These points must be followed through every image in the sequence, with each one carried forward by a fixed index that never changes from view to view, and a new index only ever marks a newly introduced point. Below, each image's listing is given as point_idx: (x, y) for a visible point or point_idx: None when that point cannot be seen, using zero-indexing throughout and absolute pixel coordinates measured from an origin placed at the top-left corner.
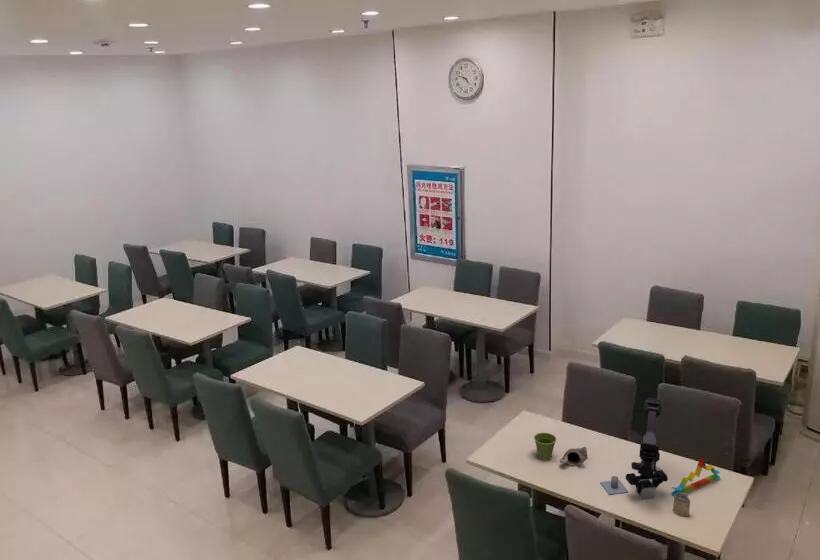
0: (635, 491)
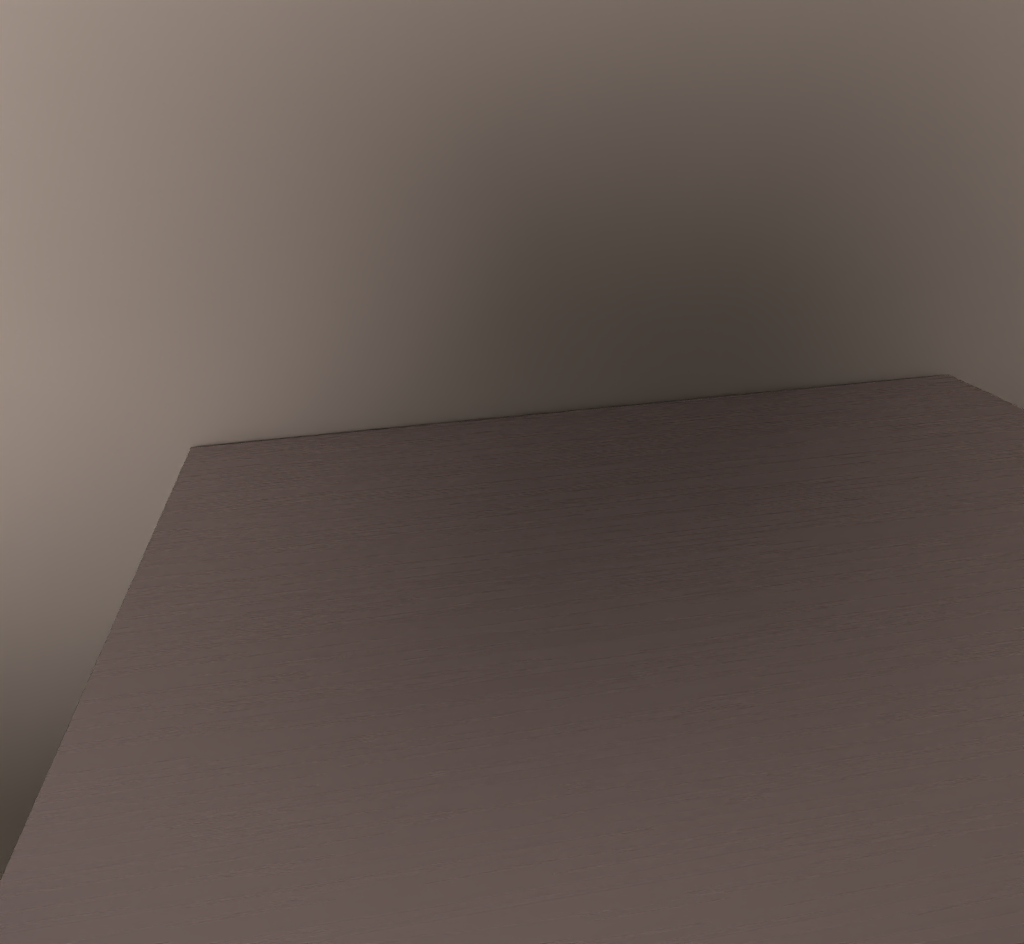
0: (192, 454)
